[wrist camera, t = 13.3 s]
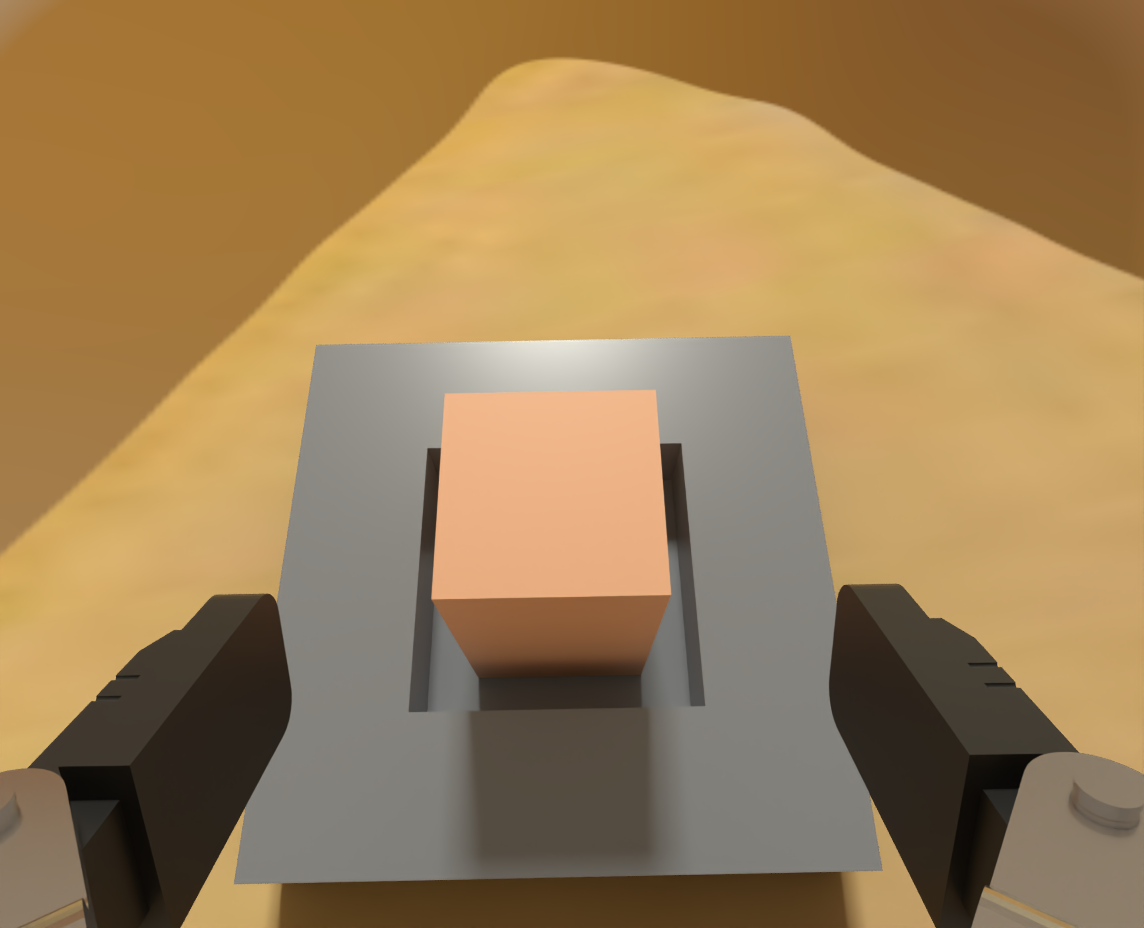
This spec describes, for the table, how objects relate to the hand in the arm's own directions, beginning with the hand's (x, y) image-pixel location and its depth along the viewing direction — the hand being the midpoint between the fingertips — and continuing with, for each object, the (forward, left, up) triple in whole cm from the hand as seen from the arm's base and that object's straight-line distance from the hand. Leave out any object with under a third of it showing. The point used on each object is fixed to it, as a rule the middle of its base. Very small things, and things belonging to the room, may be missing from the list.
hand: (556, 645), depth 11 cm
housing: (0, -4, -11) cm, 11 cm away
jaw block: (0, -4, -10) cm, 11 cm away
